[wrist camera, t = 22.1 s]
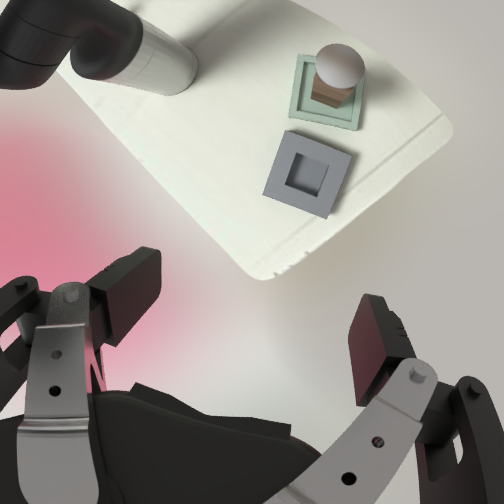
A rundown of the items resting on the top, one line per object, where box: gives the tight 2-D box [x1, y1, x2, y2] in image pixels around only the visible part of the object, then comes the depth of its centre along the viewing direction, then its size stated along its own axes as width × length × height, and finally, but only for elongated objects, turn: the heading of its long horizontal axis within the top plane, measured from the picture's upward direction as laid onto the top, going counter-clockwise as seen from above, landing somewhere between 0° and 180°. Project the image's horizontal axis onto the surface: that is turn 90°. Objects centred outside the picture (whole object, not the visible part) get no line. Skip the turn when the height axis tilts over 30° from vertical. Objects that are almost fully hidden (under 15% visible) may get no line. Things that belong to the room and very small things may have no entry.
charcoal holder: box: [262, 130, 352, 219], centre depth 40 cm, size 10×10×3 cm
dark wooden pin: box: [311, 44, 365, 109], centre depth 28 cm, size 5×5×15 cm
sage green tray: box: [288, 54, 366, 131], centre depth 35 cm, size 10×10×2 cm
